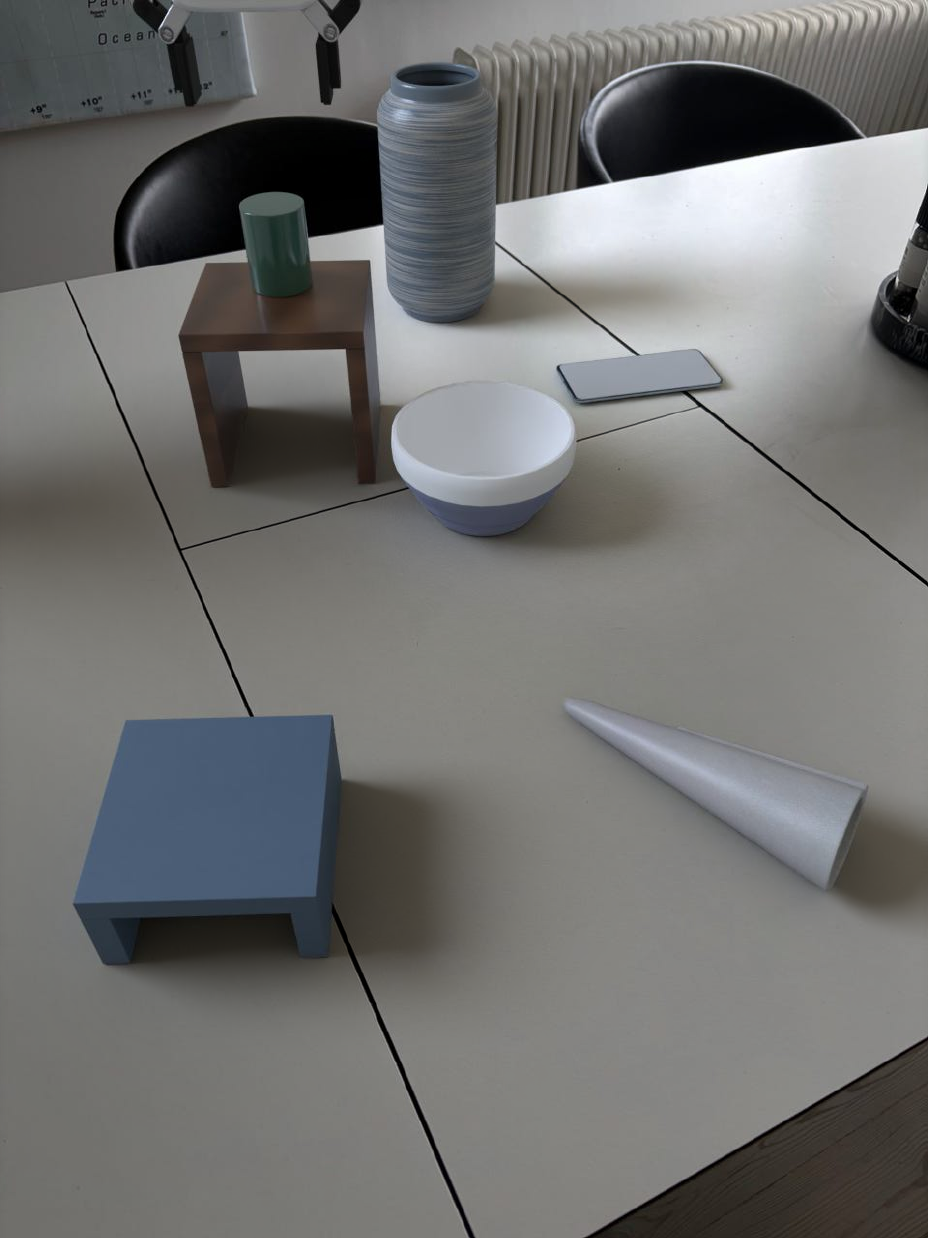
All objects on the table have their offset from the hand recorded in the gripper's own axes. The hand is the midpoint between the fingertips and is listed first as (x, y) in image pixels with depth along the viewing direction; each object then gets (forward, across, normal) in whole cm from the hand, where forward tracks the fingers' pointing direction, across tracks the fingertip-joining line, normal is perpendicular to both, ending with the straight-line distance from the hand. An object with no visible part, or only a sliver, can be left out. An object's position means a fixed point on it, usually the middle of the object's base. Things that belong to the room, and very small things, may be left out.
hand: (260, 100), depth 73 cm
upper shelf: (+28, 0, +2) cm, 28 cm away
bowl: (+28, -16, +12) cm, 34 cm away
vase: (+28, -13, -25) cm, 40 cm away
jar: (+14, 0, 0) cm, 14 cm away
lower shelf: (+28, 0, +46) cm, 54 cm away
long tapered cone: (+28, -27, +42) cm, 57 cm away
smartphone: (+28, -32, -8) cm, 43 cm away
